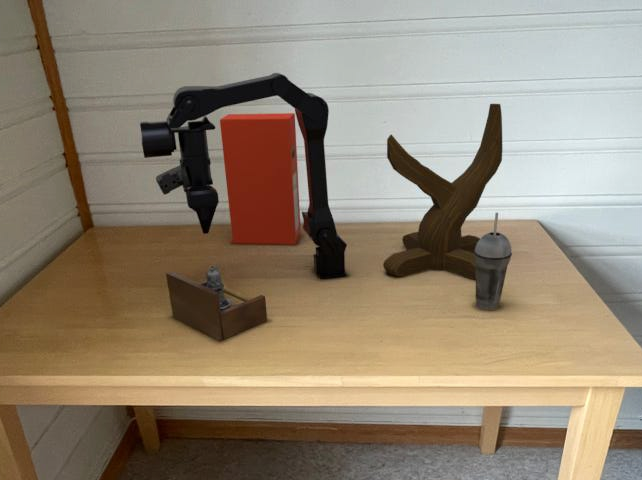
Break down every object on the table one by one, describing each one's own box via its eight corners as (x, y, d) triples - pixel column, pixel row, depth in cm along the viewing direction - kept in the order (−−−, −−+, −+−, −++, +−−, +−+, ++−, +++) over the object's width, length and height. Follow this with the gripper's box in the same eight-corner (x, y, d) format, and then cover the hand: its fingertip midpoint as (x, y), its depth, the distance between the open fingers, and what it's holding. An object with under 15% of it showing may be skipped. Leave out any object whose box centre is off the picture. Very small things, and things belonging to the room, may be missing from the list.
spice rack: (219, 299, 141) (214, 256, 136) (267, 320, 130) (263, 275, 125) (172, 317, 134) (165, 272, 129) (219, 341, 123) (213, 294, 118)
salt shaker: (205, 314, 135) (198, 260, 129) (233, 312, 135) (227, 258, 129) (204, 326, 129) (196, 271, 124) (233, 324, 130) (226, 269, 124)
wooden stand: (458, 236, 170) (469, 95, 152) (523, 273, 146) (545, 111, 128) (357, 252, 163) (357, 106, 145) (409, 294, 139) (416, 126, 121)
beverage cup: (506, 300, 134) (518, 206, 124) (504, 315, 128) (516, 217, 118) (471, 296, 136) (479, 204, 126) (467, 311, 130) (475, 215, 120)
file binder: (295, 245, 169) (288, 118, 153) (232, 244, 172) (219, 119, 156) (300, 235, 176) (294, 112, 160) (240, 234, 179) (228, 114, 163)
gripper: (153, 148, 138) (164, 218, 145) (156, 166, 122) (168, 245, 130) (205, 143, 140) (213, 213, 147) (214, 161, 124) (223, 238, 132)
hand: (203, 226), depth 139 cm, fingers open, 9 cm apart
